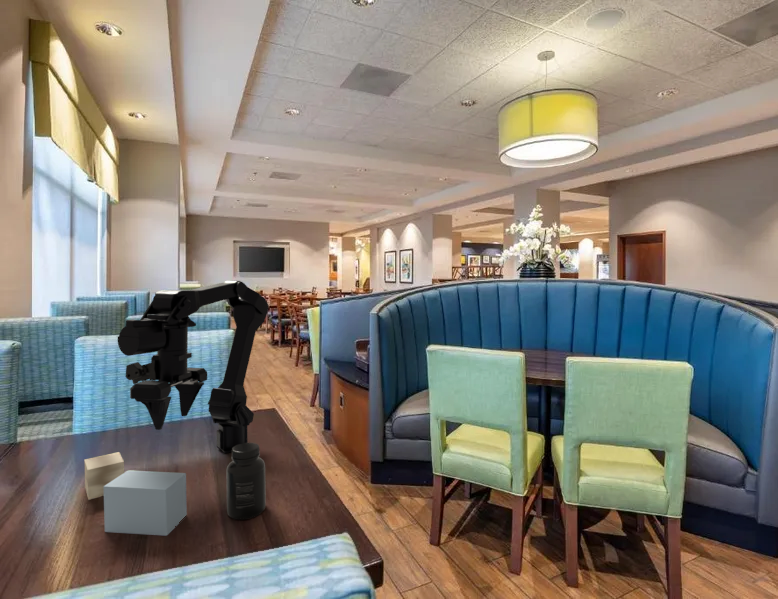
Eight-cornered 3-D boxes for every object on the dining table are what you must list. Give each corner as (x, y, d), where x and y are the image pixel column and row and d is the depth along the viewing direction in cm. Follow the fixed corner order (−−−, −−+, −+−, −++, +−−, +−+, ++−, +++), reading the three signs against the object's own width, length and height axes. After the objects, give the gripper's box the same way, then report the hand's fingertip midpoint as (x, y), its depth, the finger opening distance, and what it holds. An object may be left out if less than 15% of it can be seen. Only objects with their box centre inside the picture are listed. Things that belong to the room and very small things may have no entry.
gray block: (129, 512, 78) (128, 470, 78) (186, 516, 77) (185, 473, 77) (104, 532, 72) (103, 486, 72) (166, 536, 71) (165, 489, 71)
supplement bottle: (273, 504, 81) (272, 442, 80) (250, 524, 75) (249, 457, 74) (243, 498, 83) (242, 438, 83) (218, 516, 77) (217, 451, 76)
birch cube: (119, 479, 91) (119, 451, 90) (124, 490, 86) (123, 461, 86) (85, 488, 87) (84, 459, 86) (88, 500, 82) (87, 469, 82)
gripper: (163, 342, 100) (162, 408, 100) (103, 354, 82) (103, 435, 82) (208, 344, 99) (208, 410, 100) (159, 356, 81) (158, 438, 81)
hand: (172, 422), depth 91 cm, fingers open, 9 cm apart
